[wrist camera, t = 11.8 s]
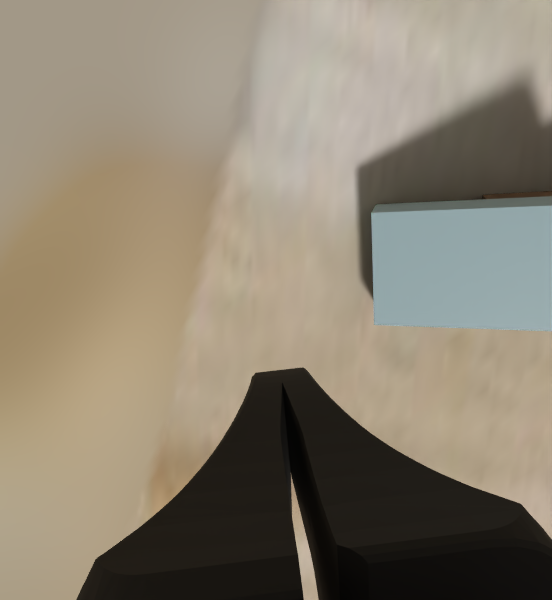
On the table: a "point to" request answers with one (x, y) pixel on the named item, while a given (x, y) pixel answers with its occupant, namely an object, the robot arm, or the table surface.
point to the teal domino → (464, 264)
